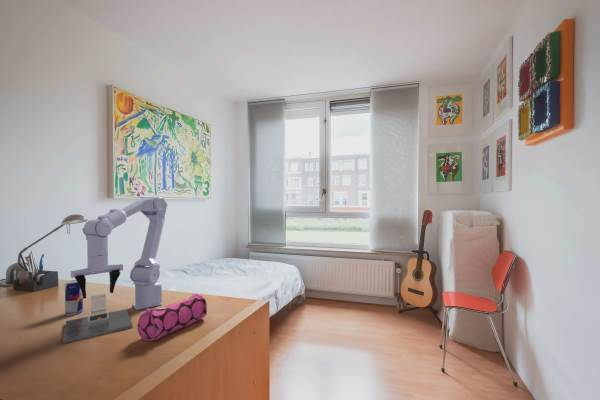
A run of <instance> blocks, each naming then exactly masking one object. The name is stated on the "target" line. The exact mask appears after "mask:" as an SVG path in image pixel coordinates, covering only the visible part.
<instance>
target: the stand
mask: <svg viewBox="0 0 600 400" xmlns="http://www.w3.org/2000/svg"><path fill="white" fill-rule="evenodd" d="M133 325H134V324H133V323H132V319H131V317H130V315H129V312H128V310H127V309H126V308H125V309H120V310H116V311H109V312H106V313H103V314H98V315H93V316H91V315H90V316H89V315H88V316H84V317H79V318H74V319H70V320H66V321H65V324H64V330H63V331H64V333H63V338H62V339H63V340H62V344H63V345H65V344H69V343H73V342H76V341H82V340H85V339H89V338H95V337H99V336H104V335H106V334H112V333H117V332H120V331H125V330H129V329H133Z"/></svg>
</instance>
